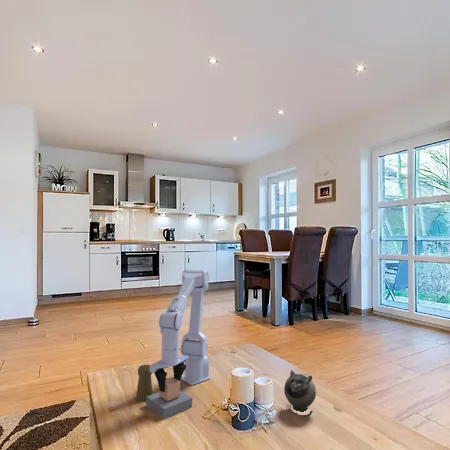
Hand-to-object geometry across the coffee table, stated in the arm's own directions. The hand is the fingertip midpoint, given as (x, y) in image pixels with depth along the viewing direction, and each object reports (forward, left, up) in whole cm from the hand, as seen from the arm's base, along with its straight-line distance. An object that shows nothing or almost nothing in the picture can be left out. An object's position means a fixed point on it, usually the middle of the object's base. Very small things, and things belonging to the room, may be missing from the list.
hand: (169, 388), depth 109 cm
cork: (+3, -11, -6) cm, 13 cm away
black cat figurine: (-31, +31, -6) cm, 44 cm away
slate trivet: (0, 0, -6) cm, 6 cm away
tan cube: (0, 0, -2) cm, 2 cm away
